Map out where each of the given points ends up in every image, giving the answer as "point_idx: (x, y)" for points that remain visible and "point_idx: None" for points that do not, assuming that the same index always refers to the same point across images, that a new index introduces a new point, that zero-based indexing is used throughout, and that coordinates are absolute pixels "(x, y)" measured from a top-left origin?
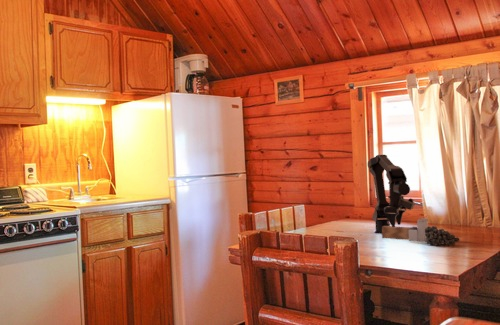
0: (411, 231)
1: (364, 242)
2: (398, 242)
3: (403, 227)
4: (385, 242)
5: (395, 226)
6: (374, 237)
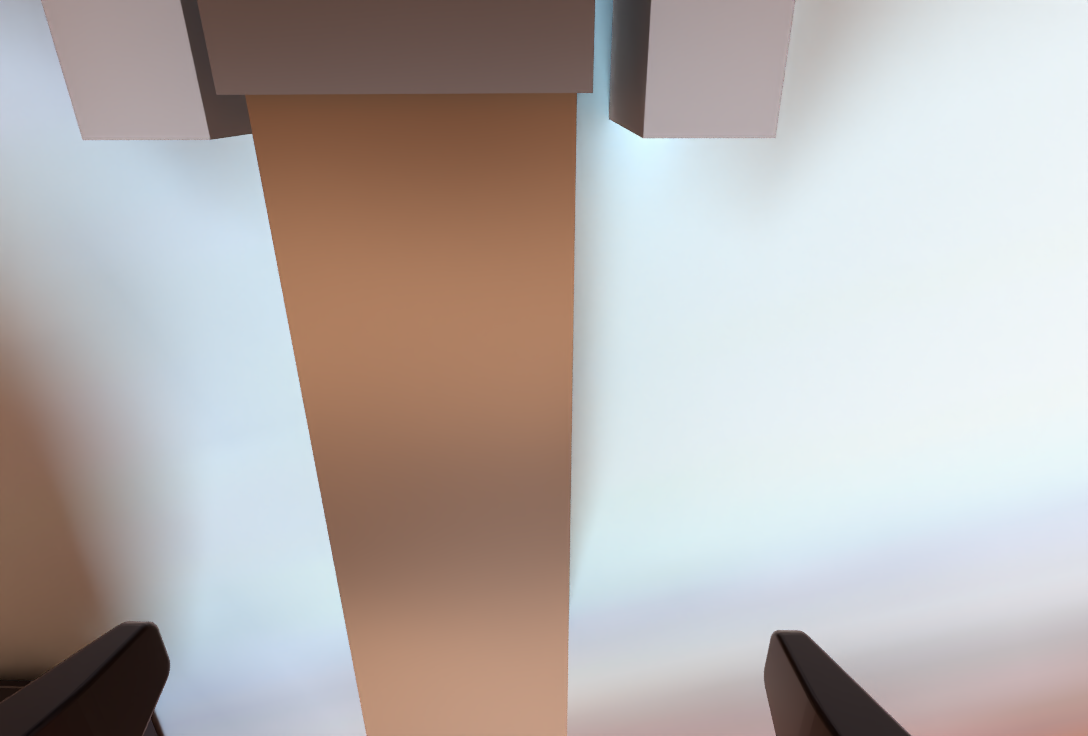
0: (776, 6)
1: (1059, 729)
2: (990, 270)
3: (461, 418)
4: (1023, 486)
5: (367, 655)
6: (567, 727)
